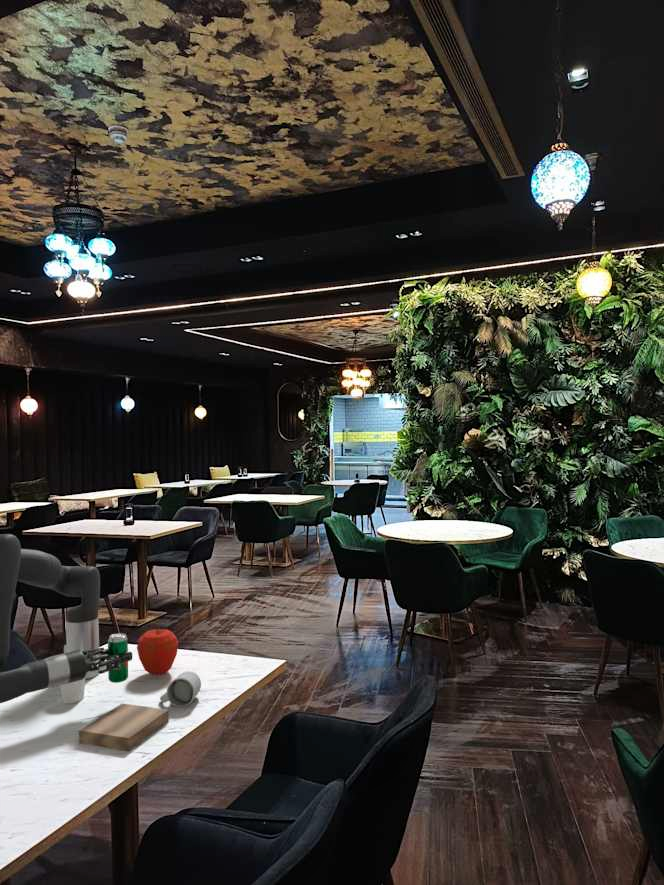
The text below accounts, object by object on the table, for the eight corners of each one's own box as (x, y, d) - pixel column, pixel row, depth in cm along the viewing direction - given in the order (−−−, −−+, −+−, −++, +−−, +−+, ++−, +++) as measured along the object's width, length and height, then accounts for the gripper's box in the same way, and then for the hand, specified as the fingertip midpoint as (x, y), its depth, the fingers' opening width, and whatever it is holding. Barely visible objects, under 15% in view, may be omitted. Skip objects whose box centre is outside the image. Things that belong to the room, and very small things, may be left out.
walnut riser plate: (79, 743, 149) (78, 730, 149) (122, 714, 164) (121, 703, 164) (129, 751, 144) (128, 738, 144) (168, 721, 160) (168, 709, 160)
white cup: (76, 704, 171) (76, 679, 171) (54, 703, 173) (53, 677, 173) (91, 694, 178) (90, 670, 178) (69, 693, 179) (69, 668, 179)
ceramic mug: (203, 695, 176) (202, 667, 176) (194, 707, 168) (193, 678, 168) (165, 695, 177) (164, 668, 177) (155, 708, 168) (154, 679, 168)
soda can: (104, 681, 170) (103, 637, 170) (118, 675, 174) (118, 631, 174) (118, 684, 167) (117, 639, 167) (132, 678, 172) (131, 634, 172)
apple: (129, 675, 193) (128, 629, 193) (163, 664, 202) (162, 620, 202) (153, 684, 185) (152, 636, 185) (186, 672, 194) (185, 626, 194)
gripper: (72, 661, 156) (138, 645, 167) (53, 647, 167) (116, 633, 178) (73, 692, 156) (139, 673, 167) (54, 675, 167) (117, 659, 178)
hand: (127, 653), depth 172 cm, fingers closed on soda can, 5 cm apart
